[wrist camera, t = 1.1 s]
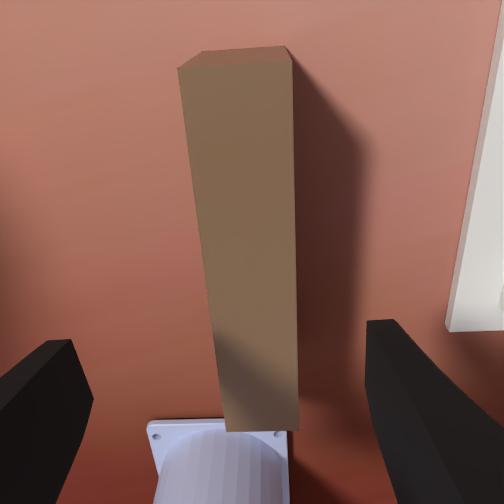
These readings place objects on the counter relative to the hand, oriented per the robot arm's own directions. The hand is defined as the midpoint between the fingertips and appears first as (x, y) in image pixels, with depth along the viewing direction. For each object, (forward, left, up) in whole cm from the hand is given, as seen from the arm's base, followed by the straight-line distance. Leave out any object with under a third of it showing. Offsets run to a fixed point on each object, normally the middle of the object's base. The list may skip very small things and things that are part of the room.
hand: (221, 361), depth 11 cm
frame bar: (-1, -1, -10) cm, 10 cm away
